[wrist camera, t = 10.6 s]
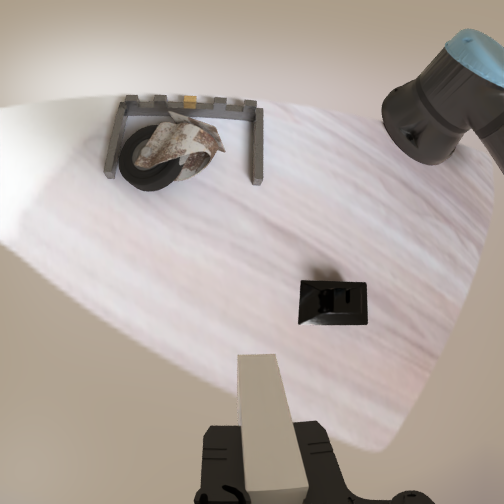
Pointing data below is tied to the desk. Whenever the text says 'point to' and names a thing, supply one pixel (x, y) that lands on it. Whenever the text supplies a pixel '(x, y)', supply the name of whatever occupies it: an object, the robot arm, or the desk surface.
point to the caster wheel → (168, 152)
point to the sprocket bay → (189, 110)
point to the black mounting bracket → (333, 303)
